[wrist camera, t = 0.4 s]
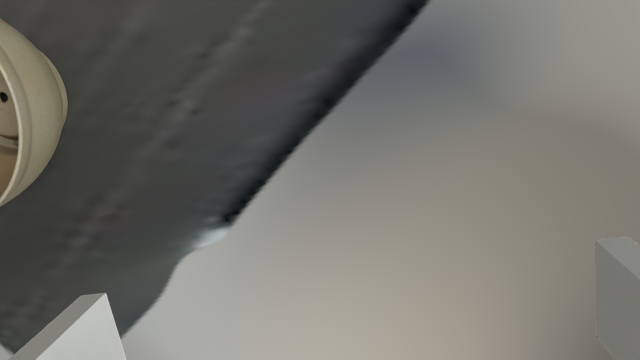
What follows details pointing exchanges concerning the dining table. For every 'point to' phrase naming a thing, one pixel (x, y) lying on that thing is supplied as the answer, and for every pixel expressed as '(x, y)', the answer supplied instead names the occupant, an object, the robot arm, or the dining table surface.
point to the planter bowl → (27, 112)
